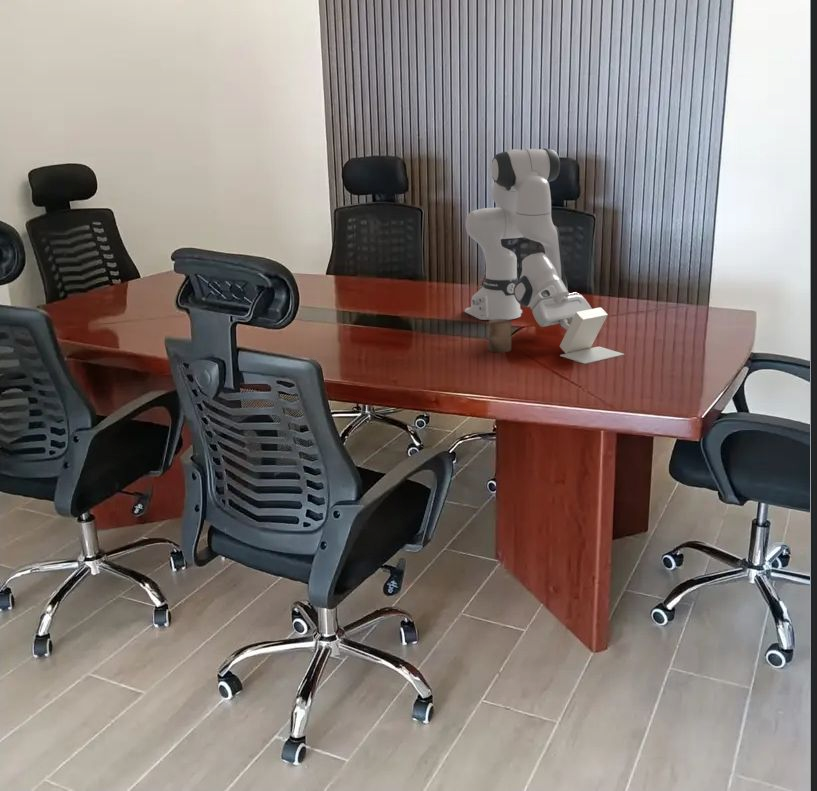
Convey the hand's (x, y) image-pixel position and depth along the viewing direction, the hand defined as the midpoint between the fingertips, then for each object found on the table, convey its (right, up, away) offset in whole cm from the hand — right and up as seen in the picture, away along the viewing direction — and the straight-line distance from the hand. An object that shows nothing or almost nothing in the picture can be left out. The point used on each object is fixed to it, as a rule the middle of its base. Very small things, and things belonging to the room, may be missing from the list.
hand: (574, 332), depth 272 cm
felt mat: (+5, -7, -5) cm, 10 cm away
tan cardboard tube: (-23, -5, +5) cm, 24 cm away
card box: (0, -5, +2) cm, 5 cm away
